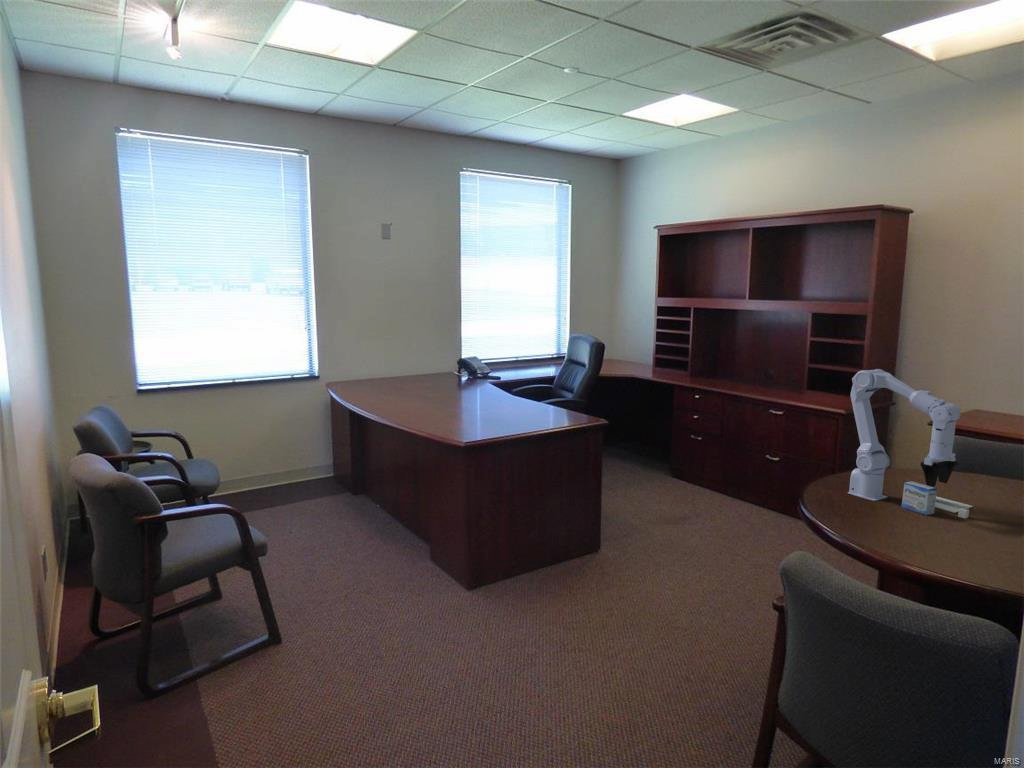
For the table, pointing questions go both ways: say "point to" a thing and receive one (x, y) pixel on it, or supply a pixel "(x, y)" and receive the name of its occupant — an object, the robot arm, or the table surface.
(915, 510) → the medicine box
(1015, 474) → the table surface
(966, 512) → the gray bar handle
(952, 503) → the grey bar
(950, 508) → the sage mat
